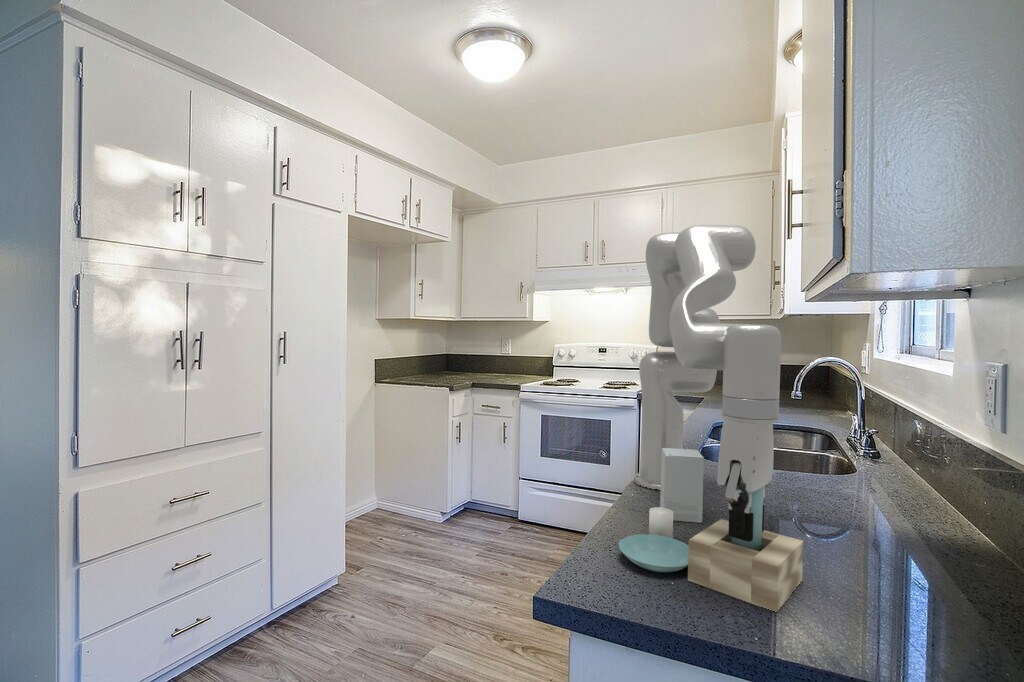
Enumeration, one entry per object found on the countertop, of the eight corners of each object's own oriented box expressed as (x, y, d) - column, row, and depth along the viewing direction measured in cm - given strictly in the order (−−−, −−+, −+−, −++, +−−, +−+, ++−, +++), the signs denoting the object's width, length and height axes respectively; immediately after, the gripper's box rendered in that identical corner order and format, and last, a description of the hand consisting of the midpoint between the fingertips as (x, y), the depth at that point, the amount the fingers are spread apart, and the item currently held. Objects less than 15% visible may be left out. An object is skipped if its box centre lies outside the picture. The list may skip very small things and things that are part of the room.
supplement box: (703, 523, 98) (704, 457, 97) (662, 520, 99) (664, 454, 99) (697, 510, 105) (698, 449, 105) (659, 507, 106) (661, 446, 106)
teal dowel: (736, 553, 78) (739, 462, 78) (764, 562, 75) (767, 467, 75) (726, 561, 75) (729, 466, 75) (755, 571, 72) (758, 472, 72)
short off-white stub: (655, 533, 93) (656, 505, 93) (676, 539, 90) (677, 511, 90) (644, 539, 90) (645, 510, 90) (665, 546, 87) (666, 516, 87)
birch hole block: (720, 555, 84) (721, 518, 84) (802, 581, 75) (803, 540, 75) (687, 580, 75) (688, 539, 75) (776, 612, 67) (777, 566, 67)
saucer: (694, 553, 85) (694, 539, 85) (698, 586, 74) (699, 570, 74) (621, 543, 88) (621, 530, 88) (615, 574, 77) (615, 559, 77)
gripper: (743, 401, 83) (740, 513, 84) (700, 411, 71) (696, 542, 72) (794, 406, 78) (791, 526, 79) (757, 419, 66) (753, 560, 66)
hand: (746, 532), depth 75 cm, fingers closed on teal dowel, 3 cm apart
